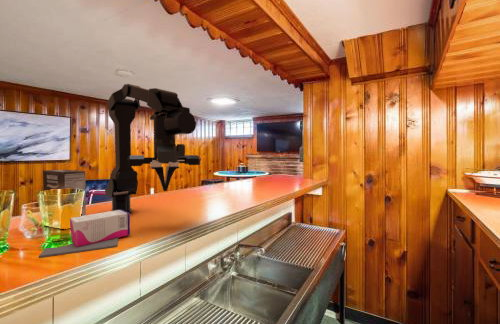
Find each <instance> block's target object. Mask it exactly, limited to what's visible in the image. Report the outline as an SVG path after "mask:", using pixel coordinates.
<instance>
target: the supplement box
mask: <svg viewBox="0 0 500 324" xmlns="http://www.w3.org/2000/svg"><path fill="white" fill-rule="evenodd" d="M130 220H131V213H128V212H126V211H124V210H115V211H104V212H100V213H99V212H98V213H92V214H86V215H85V216H79V217H73V218H70V227H71V229H70V231H71V238H72V242H73V243H74V245H75V246H76V247H80V246H84V245H88V244H93V243H97V242H101V241H105V240H109V239H114V238H118V237H119V238H122V237H125V236H130V235H131V221H130Z"/></svg>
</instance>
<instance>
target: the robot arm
mask: <svg viewBox="0 0 500 324" xmlns="http://www.w3.org/2000/svg"><path fill="white" fill-rule="evenodd" d="M129 98H132V99H129ZM133 99H134V100H133ZM140 101H141V102H144V103H146V106H147V107H149V108H150V109H151V110H154V112H153V113H152V114H151V116H150V117H149V119H150V120H151V121H153V157H149V156H148V157H145V155H144V154H139V155H137V154H134V155H133V154H132V145H131V144H132V141H131V140H132V139H131V131H132V128H131V125H132V123H133V121H134V119H136V115H137V113H136V112H137V111H138V110H139V109H140V107H141V103H140ZM106 106H107V107H106V108H107V111H108V116H109V118H110V120H111V121H112V122H113V124H114V151H115V152H114V153H115V155H114V156H115V157H114V158H115V163H114V164H115V167H114V168H113V169H112V171H111V172H110V176H109V181H108V182H107V185H106V187H105V189H104V193H105V194H104V195H105V197H107V198H111V208H112V209H111V211H115V210H124V211H126V212H128V213H130V214H132V211H133V208H131V196H132V195H136V194H137V191H138V187H139V186H138V185H139V181H138V172H137V171H136V170H134V168H133V167H142V166H143V165H145V164H146V165H149V164H150V167H149V168H150V169H151V170H154V171H155V172H156V176H157V177H158V179H159V181H160V184H161V187H162V191H163V192H167V191H168V189H169V186H170V183H171V179H172V176H173V174H174V173H175V171H176V170H177V169H180V166H179V165H180V164H184V165H188V166H200V165H201V158H200V156H199V155H197V154H193V155H190V154H186V145H185V144H184V143H177V144H176V136H177V135H190V134H193V133H194V131H195V130H196V127H197V121H196V118H195V117H194V115H193V114H192V113H191V111H190V108H189V107H185V106H183V105H182V102H181V100H180V98H179V95H178V93H177V92H173V91H170V90H167V89H166V90H165V89H161V88H157V87H154V88H149V89H147V88H143V87H141V86H138V85H136V84H135V85H134V84H131V83H126V84H124V85H122V87H121V88H120V89H118V90H116V91H114V92H112V94H111V95H110V96H109V98H108V99H107V102H106ZM163 164H164V165H165V164H166V165H165V166H166V169H165V174H164V166H162V165H163Z"/></svg>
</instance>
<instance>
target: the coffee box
mask: <svg viewBox="0 0 500 324" xmlns="http://www.w3.org/2000/svg"><path fill="white" fill-rule="evenodd" d="M42 183H43V185H42V186H43V187H42V188H43V191H44V190H50V189H66V188H79V189H84V190H85V197H84V204H83V207H82V214H81V216H85V215H87V214H86V211H87V209H86V207H87V206H86V205H87V203H86V202H87V201H86V197H87V196H86V191H87V190H86V171H85V170H76V169H50V170H49V169H48V170H42Z"/></svg>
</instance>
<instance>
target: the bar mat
mask: <svg viewBox="0 0 500 324" xmlns="http://www.w3.org/2000/svg"><path fill="white" fill-rule="evenodd" d="M119 239H120V237H118V238H114V239H109V240H105V241H101V242H97V243H93V244H88V245H84V246H80V247H76V246H75V245H74V243H73V244H70V245H67V246H62V247H57V248H46V247H45V248H44V249H43V251H41V253H39V255H38V258H39V259H40V258H46V257H55V256H56V257H57V256H60V255H68V254H76V253H77V254H78V253H82V252H89V251H96V250H97V251H98V250H104V249H110V248H112V249H113V248H117V247H118V245H119Z"/></svg>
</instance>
